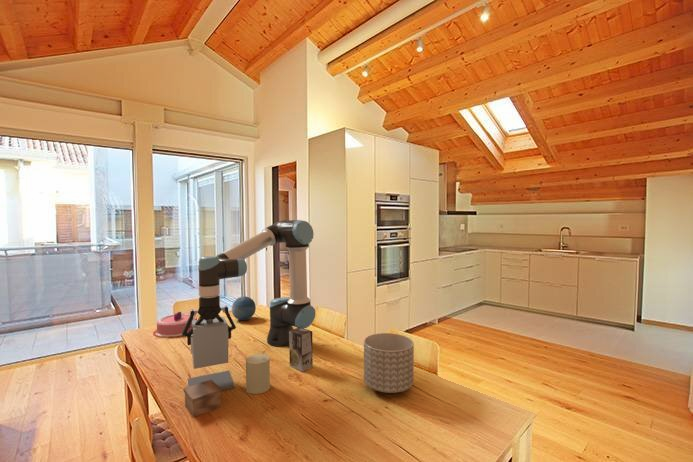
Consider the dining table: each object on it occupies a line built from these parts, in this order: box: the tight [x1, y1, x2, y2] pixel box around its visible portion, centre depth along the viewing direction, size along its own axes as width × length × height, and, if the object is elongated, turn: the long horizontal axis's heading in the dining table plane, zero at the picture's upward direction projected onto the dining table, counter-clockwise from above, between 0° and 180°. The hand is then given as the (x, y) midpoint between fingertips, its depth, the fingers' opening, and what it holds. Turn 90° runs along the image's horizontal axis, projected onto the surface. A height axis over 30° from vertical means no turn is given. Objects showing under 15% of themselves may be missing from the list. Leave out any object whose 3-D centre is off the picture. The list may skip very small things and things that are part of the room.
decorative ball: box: [231, 296, 257, 321], centre depth 215 cm, size 15×15×15 cm
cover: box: [191, 316, 229, 370], centre depth 131 cm, size 12×12×16 cm
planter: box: [363, 332, 415, 394], centre depth 129 cm, size 19×19×18 cm
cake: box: [152, 311, 198, 339], centre depth 195 cm, size 25×25×11 cm
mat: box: [187, 370, 236, 391], centre depth 132 cm, size 16×16×1 cm
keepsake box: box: [183, 380, 223, 418], centre depth 116 cm, size 10×10×6 cm
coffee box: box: [288, 327, 314, 372], centre depth 147 cm, size 9×6×16 cm
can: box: [245, 353, 271, 395], centre depth 129 cm, size 9×9×12 cm
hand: (209, 349), depth 131 cm, fingers closed on cover, 12 cm apart
